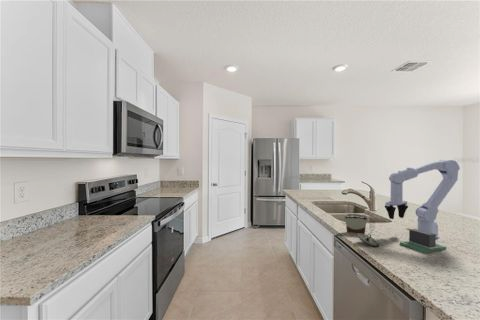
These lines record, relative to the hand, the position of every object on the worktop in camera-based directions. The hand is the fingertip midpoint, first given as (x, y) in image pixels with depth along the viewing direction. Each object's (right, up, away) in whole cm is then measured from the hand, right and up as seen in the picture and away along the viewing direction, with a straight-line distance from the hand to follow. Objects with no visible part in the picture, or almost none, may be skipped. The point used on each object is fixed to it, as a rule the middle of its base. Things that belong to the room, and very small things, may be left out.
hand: (396, 218), depth 139 cm
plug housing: (0, -8, -17) cm, 19 cm away
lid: (-24, -10, -15) cm, 30 cm away
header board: (+1, -10, -19) cm, 21 cm away
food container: (-21, -10, +5) cm, 24 cm away
